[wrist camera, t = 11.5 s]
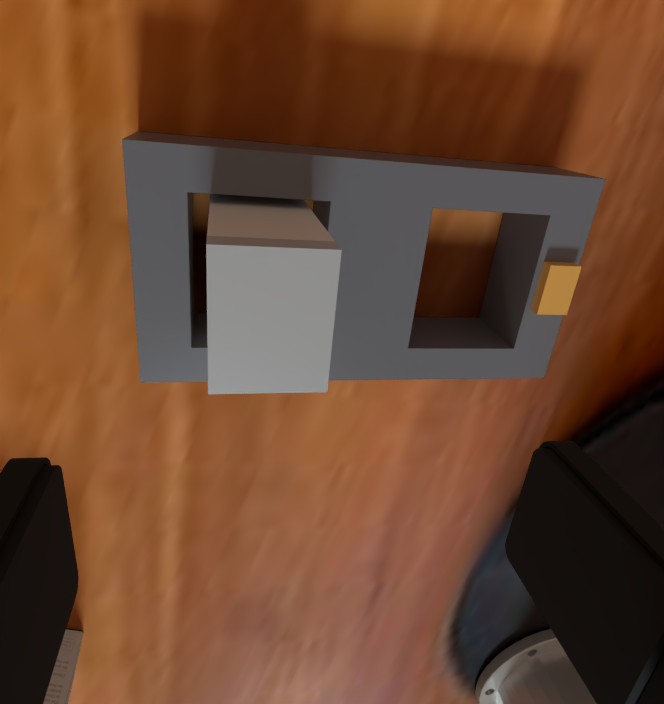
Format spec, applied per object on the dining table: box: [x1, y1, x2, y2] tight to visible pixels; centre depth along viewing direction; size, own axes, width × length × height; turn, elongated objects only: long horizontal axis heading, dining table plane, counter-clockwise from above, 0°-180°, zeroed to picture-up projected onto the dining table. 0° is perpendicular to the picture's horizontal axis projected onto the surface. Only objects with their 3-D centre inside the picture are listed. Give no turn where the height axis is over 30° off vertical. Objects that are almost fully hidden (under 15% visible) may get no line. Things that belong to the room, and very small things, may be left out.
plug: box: [206, 194, 342, 394], centre depth 21 cm, size 4×5×10 cm
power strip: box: [122, 131, 606, 382], centre depth 24 cm, size 20×10×5 cm, turn 84°
